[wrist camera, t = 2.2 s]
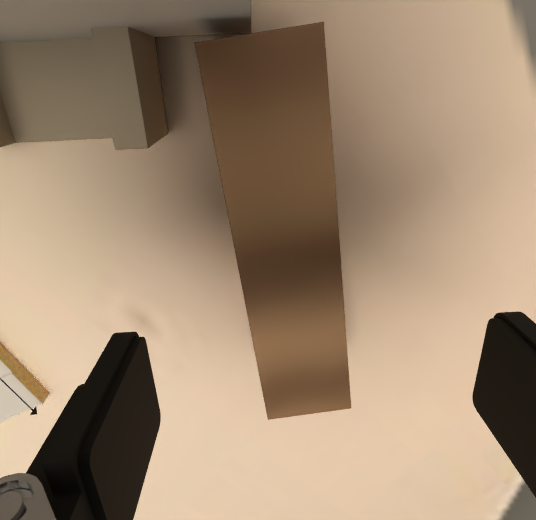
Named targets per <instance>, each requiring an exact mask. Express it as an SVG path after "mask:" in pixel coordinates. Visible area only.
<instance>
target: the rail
mask: <svg viewBox="0 0 536 520" xmlns="http://www.w3.org/2000/svg"><path fill="white" fill-rule="evenodd" d="M195 47H196V52H197V58H198V63H199V68H200V73H201V78H202V83H203V88H204V94H205V99H206V104H207V109H208V114H209V119H210V124H211V130H212V135H213V140H214V145H215V150H216V155H217V160H218V165H219V171H220V176H221V181H222V186H223V191H224V196H225V201H226V207H227V212H228V217H229V222H230V227H231V232H232V237H233V242H234V248H235V253H236V258H237V263H238V268H239V273H240V278H241V284H242V289H243V294H244V299H245V304H246V309H247V314H248V320H249V325H250V330H251V335H252V340H253V345H254V350H255V355H256V361H257V366H258V371H259V376H260V381H261V386H262V391H263V397H264V402H265V407H266V412H267V417H268V420H269V419H276V418H283V417H291V416H298V415H305V414H313V413H320V412H327V411H335V410H342V409H349V408H351V399H350V385H349V371H348V357H347V343H346V329H345V315H344V301H343V286H342V272H341V258H340V244H339V230H338V216H337V202H336V188H335V174H334V160H333V146H332V132H331V118H330V104H329V90H328V76H327V62H326V48H325V34H324V22H320V23H314V24H307V25H301V26H295V27H289V28H282V29H276V30H270V31H264V32H257V33H251V34H245V35H239V36H232V37H226V38H220V39H214V40H208V41H201V42H195Z"/></svg>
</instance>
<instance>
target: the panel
mask: <svg viewBox="0 0 536 520" xmlns="http://www.w3.org/2000/svg"><path fill="white" fill-rule="evenodd" d="M229 33H251V0H0V147H2V146H6V145H9V144H13V143H19V142H39V141H58V140H78V139H98V138H113V141H114V146H115V150H121V149H141V148H149V147H150V146H152V145H153V144H154V143H156V142H157V141H159V140H160V139H161V138H163V137H164V136H166V135H167V134H168V129H167V122H166V115H165V108H164V101H163V94H162V87H161V80H160V73H159V66H158V59H157V52H156V45H155V38H154V37H164V36H185V35H207V34H229Z"/></svg>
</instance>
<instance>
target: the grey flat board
mask: <svg viewBox="0 0 536 520" xmlns="http://www.w3.org/2000/svg"><path fill="white" fill-rule="evenodd" d="M48 394H49V393H48V391H47V390H46V389H45V388H44V387H43V386H42V385H41V384H40V383H39V382H38V381H37V380H36V379H35V378H34V377H33V376H32V375H31V374H30V373H29V371H28V370H27V369H26V368H25V367H24V366H23V365H22V364H21V363H20V362H19V361H18V360H17V359H16V358H15V357H14V356H13V355H12V354H11V353H10V352H9V351H8V350H7V349H6V348H5V347H4V346H3V345H2V344H1V343H0V422H3V421H5V420H7V419H9V418H12V417H14V416H16V415H19V414H21V413H23V412H25V411H28V410H30V409H31V410H32V413H31V414H30V415H34V414H37V410H36V407H37V406H39V405H41V404H43V403H44V401H45V399H46V398H47V396H48ZM32 408H34V410H33V409H32Z"/></svg>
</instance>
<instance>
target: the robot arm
mask: <svg viewBox="0 0 536 520" xmlns="http://www.w3.org/2000/svg"><path fill="white" fill-rule="evenodd" d="M473 403H474V406H475V408H476V410H477V412H478V413H479V414H480V416H481V417H482V419H483V420H484V422H485V423H486V425H487V426H488V428H489V429H490V431H491V432H492V434H493V435H494V437H495V438H496V440H497V441H498V443H499V444H500V445H501V447H502V448H503V450H504V451H505V453H506V454H507V456H508V457H509V459H510V460H511V462H512V463H513V465H514V466H515V468H516V469H517V471H518V472H519V474H520V475H521V476H522V478H523V479H524V481H525V482H526V484H527V485H528V487H529V488H530V490H531V491H532V493H533V494H534V496H535V497H536V324H535V323H534V322H533V321H532V320H531V319H530V318H528V317H527V316H526V315H525V314H523V313H522V312H504V313H497V314H496V315H495V316H494V318H492V319H490V320H489V321H488V324H487V329H486V334H485V339H484V343H483V348H482V353H481V358H480V362H479V367H478V372H477V377H476V381H475V386H474V391H473ZM159 426H160V409H159V404H158V399H157V394H156V389H155V384H154V379H153V374H152V369H151V364H150V359H149V354H148V349H147V344H146V340H145V338H144V337H139V335H138V334H137V332H123V333H114V334H113V335H112V337H111V339H110V340H109V342H108V344H107V346H106V347H105V349H104V351H103V352H102V354H101V356H100V358H99V359H98V361H97V363H96V365H95V366H94V368H93V370H92V372H91V373H90V375H89V377H88V379H87V380H86V382H85V384H81V385H80V386H78V387H77V389H76V390H75V391H74V393H73V395H72V396H71V398H70V400H69V401H68V403H67V405H66V406H65V408H64V410H63V411H62V413H61V415H60V417H59V418H58V420H57V422H56V423H55V425H54V427H53V428H52V430H51V432H50V433H49V435H48V437H47V438H46V440H45V442H44V444H43V445H42V447H41V449H40V450H39V452H38V454H37V455H36V457H35V459H34V460H33V462H32V464H31V465H30V467H29V469H28V471H27V472H26V473H17V474H13V475H8V476H5V477H2V478H0V520H133V518H134V515H135V511H136V508H137V504H138V501H139V497H140V493H141V490H142V486H143V483H144V479H145V476H146V472H147V469H148V465H149V462H150V458H151V455H152V451H153V447H154V444H155V440H156V437H157V433H158V430H159Z"/></svg>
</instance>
